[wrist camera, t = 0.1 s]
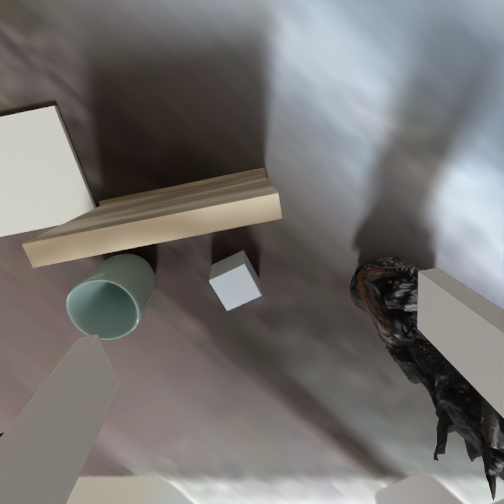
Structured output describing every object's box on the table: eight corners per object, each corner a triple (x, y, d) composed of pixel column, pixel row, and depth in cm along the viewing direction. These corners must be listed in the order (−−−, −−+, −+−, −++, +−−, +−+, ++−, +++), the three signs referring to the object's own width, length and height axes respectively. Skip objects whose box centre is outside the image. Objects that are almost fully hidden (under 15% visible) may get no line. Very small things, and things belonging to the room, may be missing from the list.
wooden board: (102, 200, 37) (13, 240, 22) (263, 167, 37) (282, 186, 22) (110, 220, 38) (31, 273, 23) (267, 189, 38) (287, 222, 23)
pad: (-54, 129, 33) (-59, 129, 33) (57, 106, 33) (54, 105, 33) (3, 235, 38) (-1, 236, 38) (99, 216, 38) (97, 217, 37)
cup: (93, 256, 40) (50, 292, 31) (145, 238, 39) (118, 268, 30) (121, 303, 43) (89, 349, 33) (170, 286, 42) (152, 328, 33)
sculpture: (425, 226, 41) (834, 413, 13) (433, 313, 46) (734, 579, 18) (325, 256, 42) (509, 492, 14) (344, 338, 47) (504, 629, 19)
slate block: (211, 264, 41) (208, 280, 37) (243, 249, 41) (244, 264, 36) (228, 292, 43) (227, 311, 38) (258, 278, 42) (261, 295, 38)
